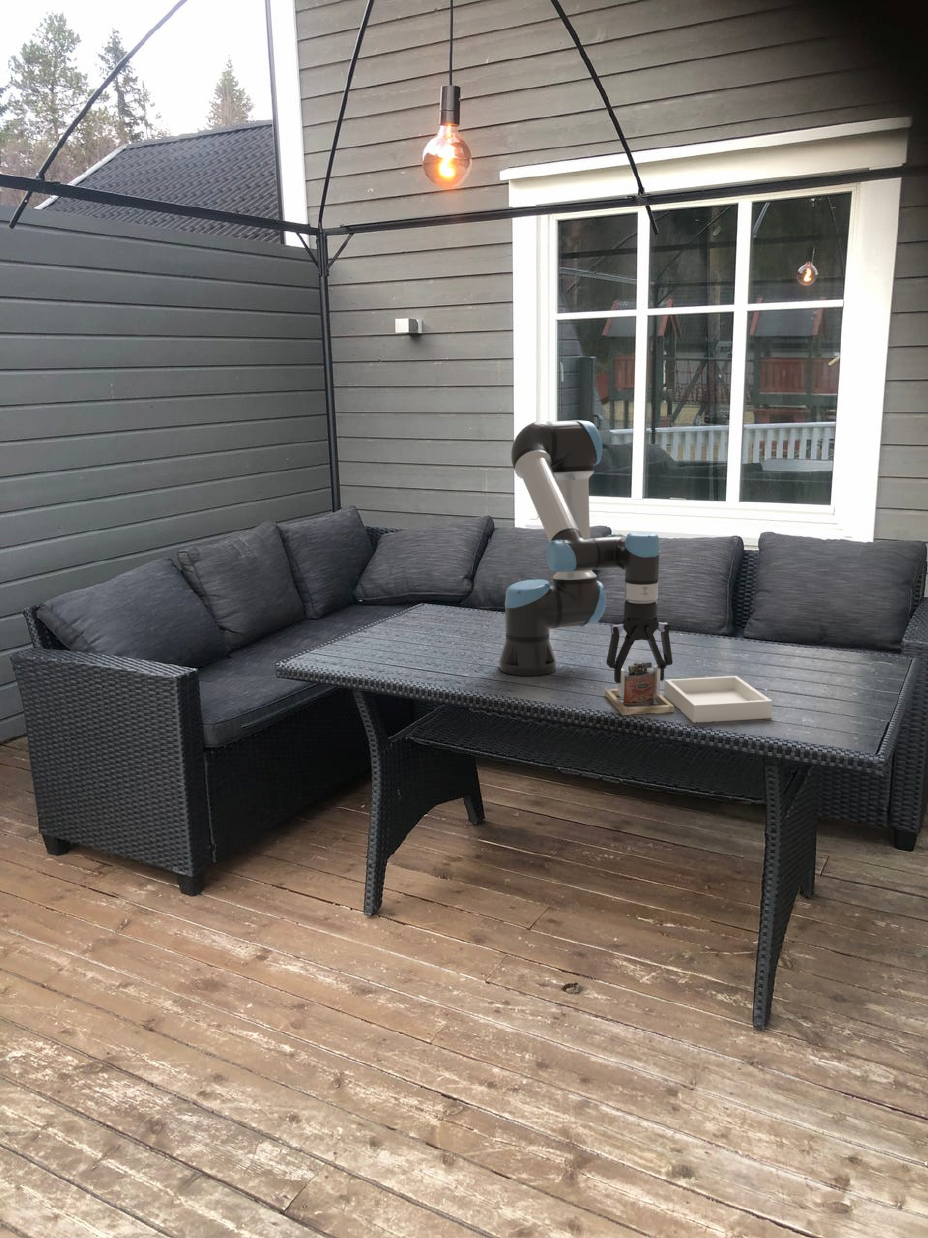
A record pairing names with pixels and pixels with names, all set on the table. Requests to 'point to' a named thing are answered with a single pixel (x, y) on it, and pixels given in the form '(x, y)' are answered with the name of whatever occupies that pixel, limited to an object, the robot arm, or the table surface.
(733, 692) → the tray
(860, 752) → the table surface
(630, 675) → the lighter
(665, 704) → the holder
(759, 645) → the table surface
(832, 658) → the table surface
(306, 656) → the table surface
